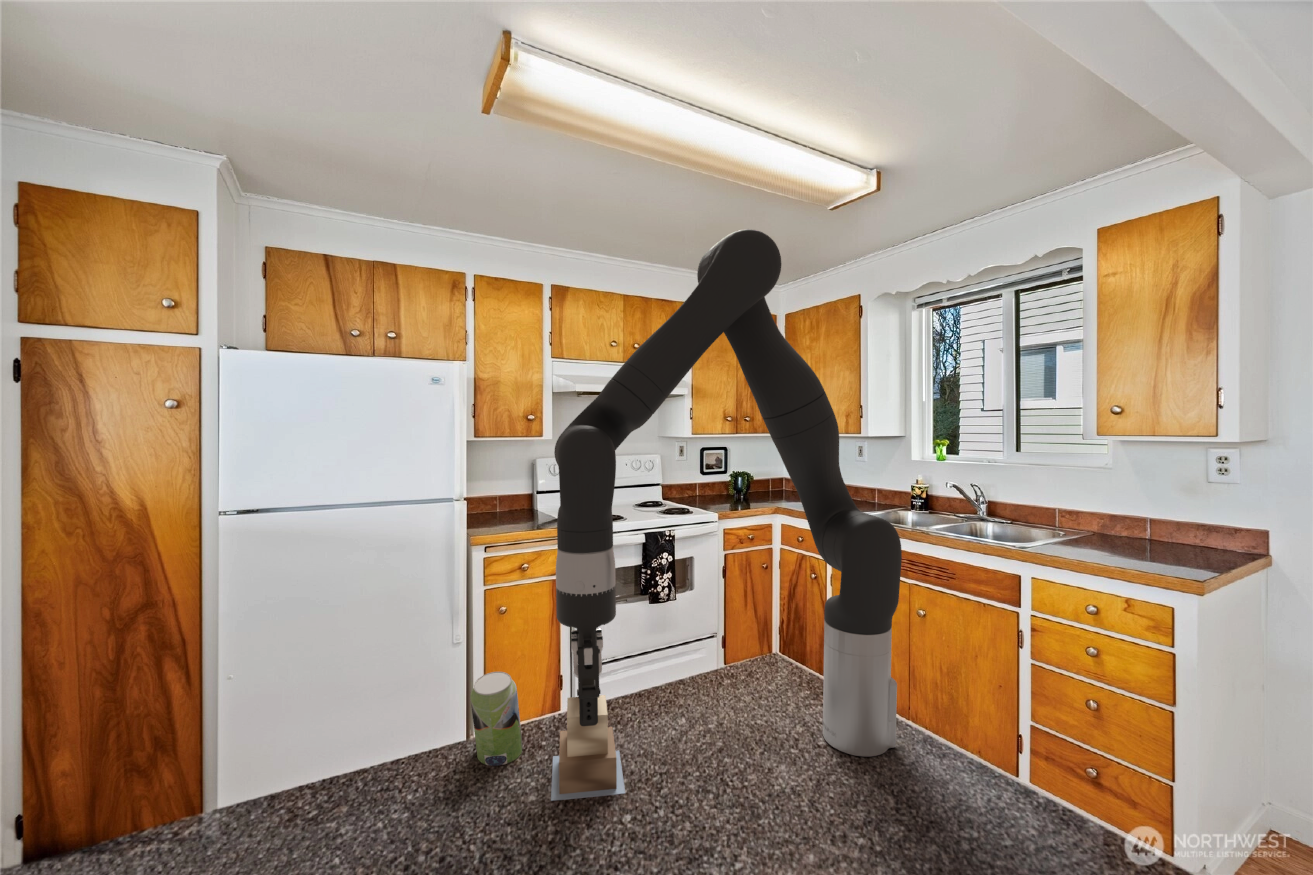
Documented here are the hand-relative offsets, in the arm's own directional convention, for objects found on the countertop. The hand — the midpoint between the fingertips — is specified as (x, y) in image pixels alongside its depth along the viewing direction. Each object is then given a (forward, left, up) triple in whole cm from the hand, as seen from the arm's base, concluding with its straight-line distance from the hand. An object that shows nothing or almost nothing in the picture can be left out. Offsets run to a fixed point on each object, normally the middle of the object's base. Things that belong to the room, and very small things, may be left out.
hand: (587, 706), depth 74 cm
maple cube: (0, 0, -5) cm, 5 cm away
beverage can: (+12, -6, -10) cm, 17 cm away
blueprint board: (-1, 0, -10) cm, 10 cm away
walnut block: (0, 0, -9) cm, 9 cm away
